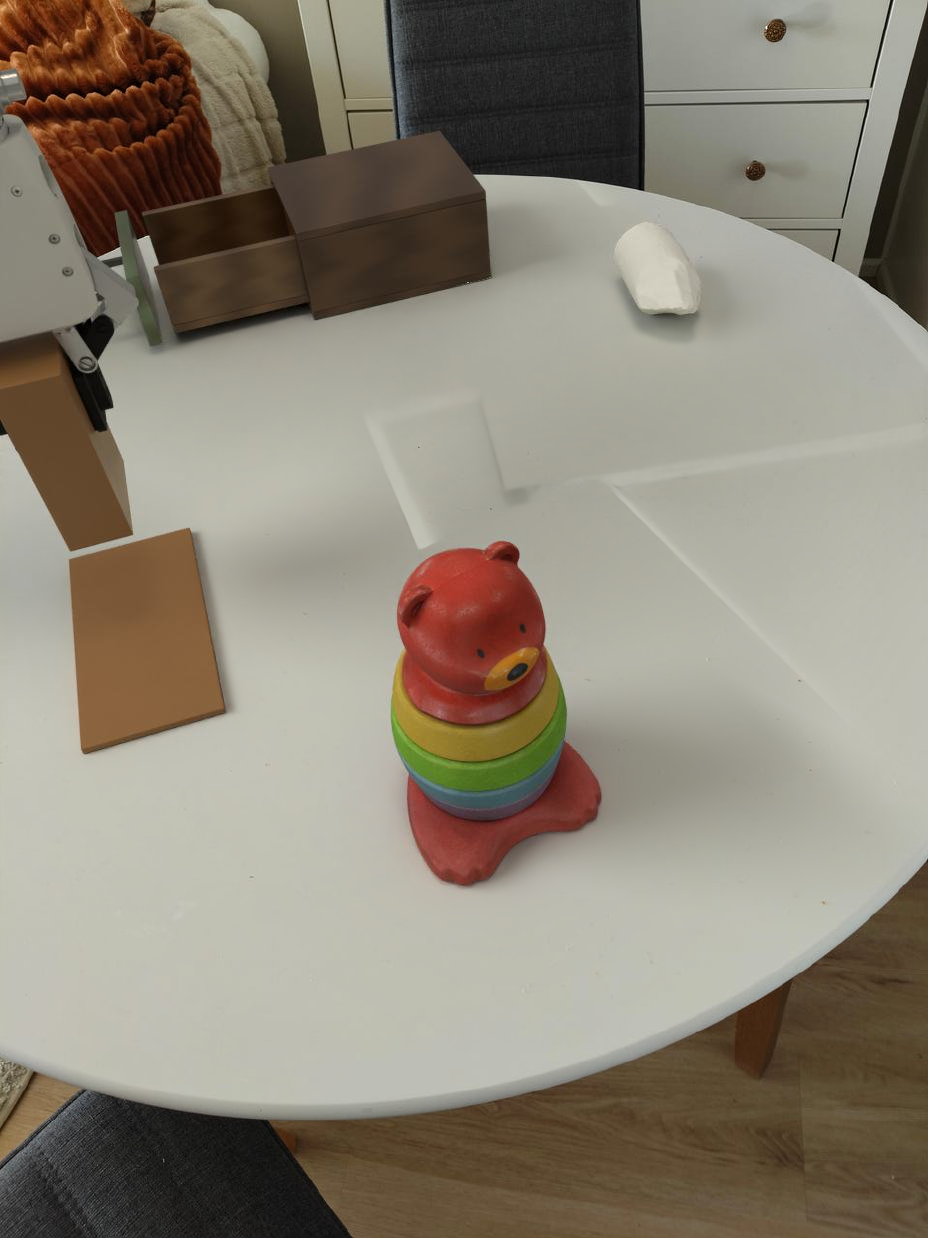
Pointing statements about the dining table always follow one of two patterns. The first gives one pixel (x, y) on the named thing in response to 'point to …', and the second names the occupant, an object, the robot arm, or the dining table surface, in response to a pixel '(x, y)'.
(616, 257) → the roll
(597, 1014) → the dining table surface
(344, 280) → the cabinet
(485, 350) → the dining table surface
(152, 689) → the mat
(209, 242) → the drawer
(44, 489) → the upright tan wooden block
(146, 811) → the dining table surface
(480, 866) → the stacking bear
